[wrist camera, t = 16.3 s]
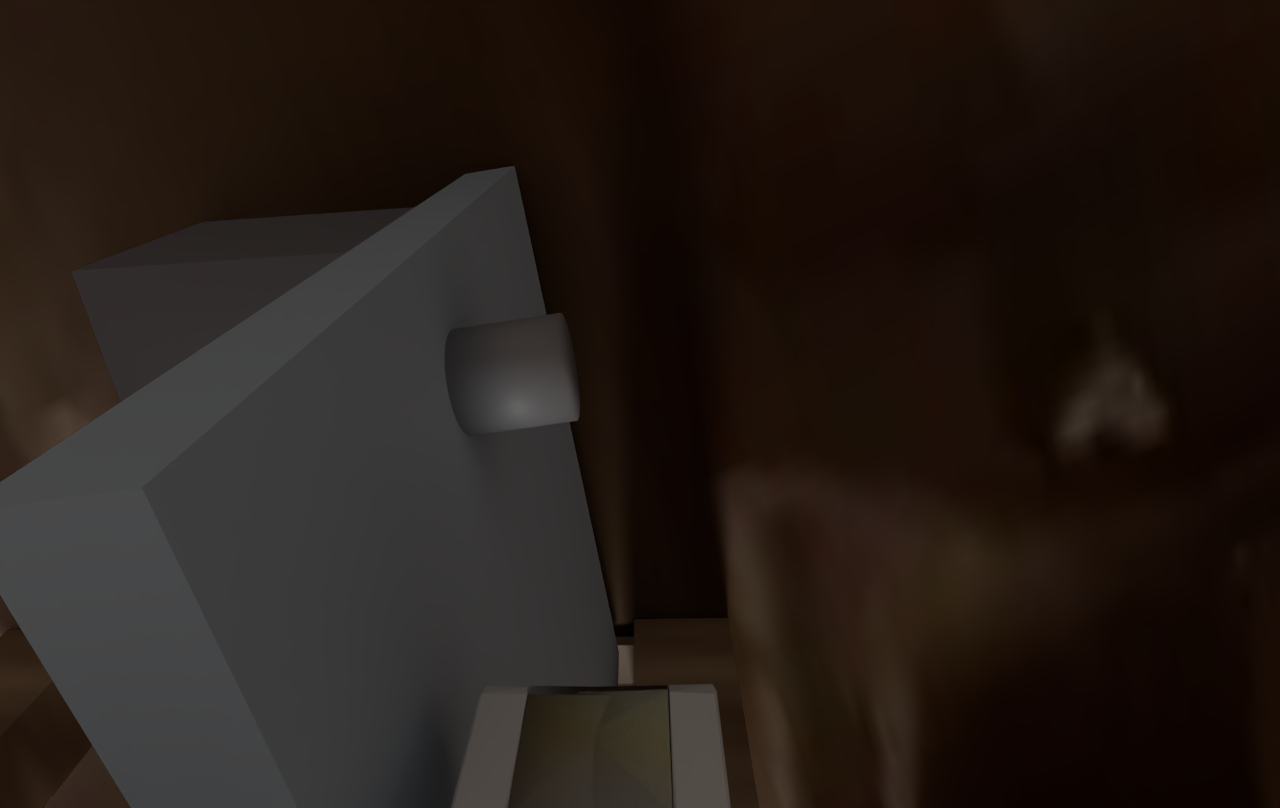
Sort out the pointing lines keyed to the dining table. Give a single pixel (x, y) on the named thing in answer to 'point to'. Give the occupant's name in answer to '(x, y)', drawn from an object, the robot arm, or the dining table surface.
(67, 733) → the door frame
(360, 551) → the door
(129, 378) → the dark grey block
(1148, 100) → the dining table surface
